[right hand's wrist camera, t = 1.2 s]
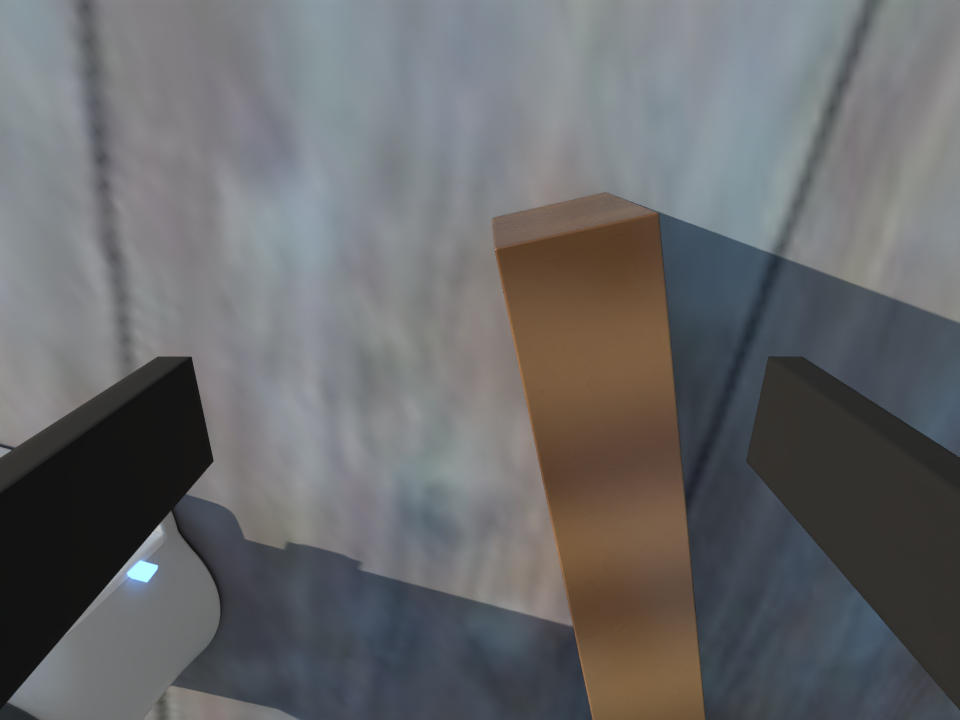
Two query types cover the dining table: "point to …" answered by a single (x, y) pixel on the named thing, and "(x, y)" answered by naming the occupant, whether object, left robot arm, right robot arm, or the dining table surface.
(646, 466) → the beam
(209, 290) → the dining table surface
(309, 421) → the dining table surface
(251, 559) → the dining table surface
